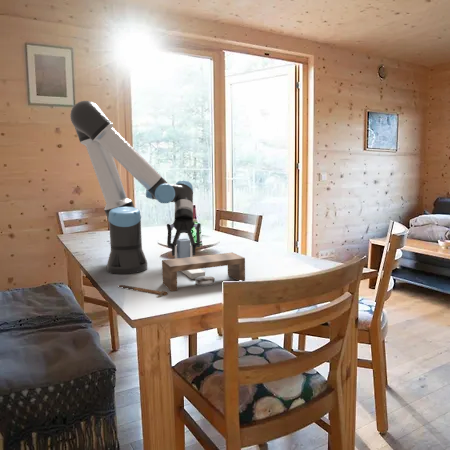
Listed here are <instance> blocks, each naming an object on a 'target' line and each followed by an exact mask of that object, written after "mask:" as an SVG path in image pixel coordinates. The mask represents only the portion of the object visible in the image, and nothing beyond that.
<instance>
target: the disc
mask: <svg viewBox="0 0 450 450" xmlns="http://www.w3.org/2000/svg"><path fill="white" fill-rule="evenodd" d="M215 281H216V280H215V277H214V276H211V275H205V276H201V277H197V278H196V279H195V285H197V286H200V285H201V286H202V287H205V286H206V287H208V286H213V285H214V284H215V283H216V282H215Z"/></svg>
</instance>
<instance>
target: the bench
mask: <svg viewBox="0 0 450 450" xmlns="http://www.w3.org/2000/svg"><path fill="white" fill-rule="evenodd" d="M224 266H225V267H226V266H227V276H229V277H230V278H233V279H234V280H236V281H238V280H245V281H246V258H245V257H243V256H241V255H239V254H237V253H234V252H224V253H216V254H215V253H214V254H208V255H198V256H192V257H186V258H177V259H175V258H171V259H170V258H169V259H162V260H161V272H162V273H161V275H162V284H163V285H164V286H165V287H166V288H167V289H168V290H169V291H170V292H175V291H176V292H178V272H181V271H185V270H193V269H201V270H203V269H208V268H217V267H224Z"/></svg>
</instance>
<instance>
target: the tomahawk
mask: <svg viewBox="0 0 450 450" xmlns="http://www.w3.org/2000/svg"><path fill="white" fill-rule="evenodd" d="M118 286H119V287H123V288H122V289H125V288H128V289H127V290H130V289H133V290H132V291H136V290H138V291H137V292H143V293H147V292H148V294H155V295H157V296H156V298H161V297H165V296H167V295H168V294H169V292H168V291H166V290H161V291H160V290H154V289H148V288H142V287H136V286H131V285H125V284H118ZM118 286H117V287H118ZM119 287H118V288H119Z"/></svg>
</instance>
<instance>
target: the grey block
mask: <svg viewBox="0 0 450 450" xmlns="http://www.w3.org/2000/svg"><path fill="white" fill-rule="evenodd" d="M190 245H191V242H190V239H189V238H179V239H177V245H176V246H177V258H186V257H190ZM180 272H181V273H183V274H184V275H185V276H187V277H188V278H189V279H191V280H196V278H197V277H201V276H206V271H204V270H203V269H193V270H185V271H180Z"/></svg>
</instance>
